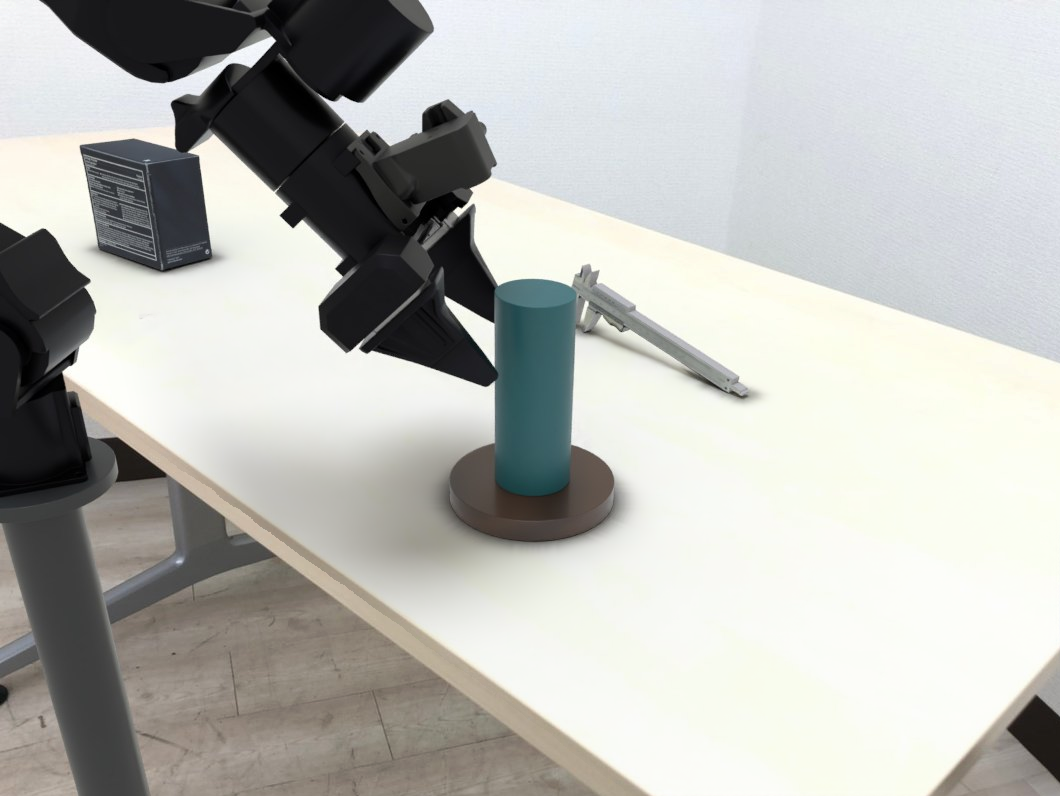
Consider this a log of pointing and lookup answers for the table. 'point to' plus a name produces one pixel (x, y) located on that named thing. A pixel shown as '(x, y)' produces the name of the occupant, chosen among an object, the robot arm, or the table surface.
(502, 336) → the cylinder
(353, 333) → the robot arm
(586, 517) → the walnut chip
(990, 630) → the table surface
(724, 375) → the caliper
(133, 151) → the small box
